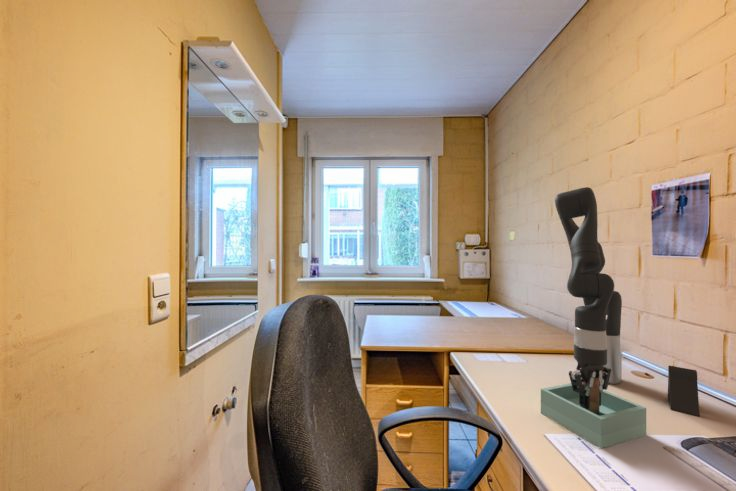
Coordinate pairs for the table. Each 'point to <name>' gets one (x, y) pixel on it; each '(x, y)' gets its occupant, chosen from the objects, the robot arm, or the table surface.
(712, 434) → the table surface
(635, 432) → the bore box
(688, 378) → the phone stand
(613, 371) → the robot arm
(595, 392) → the walnut peg
